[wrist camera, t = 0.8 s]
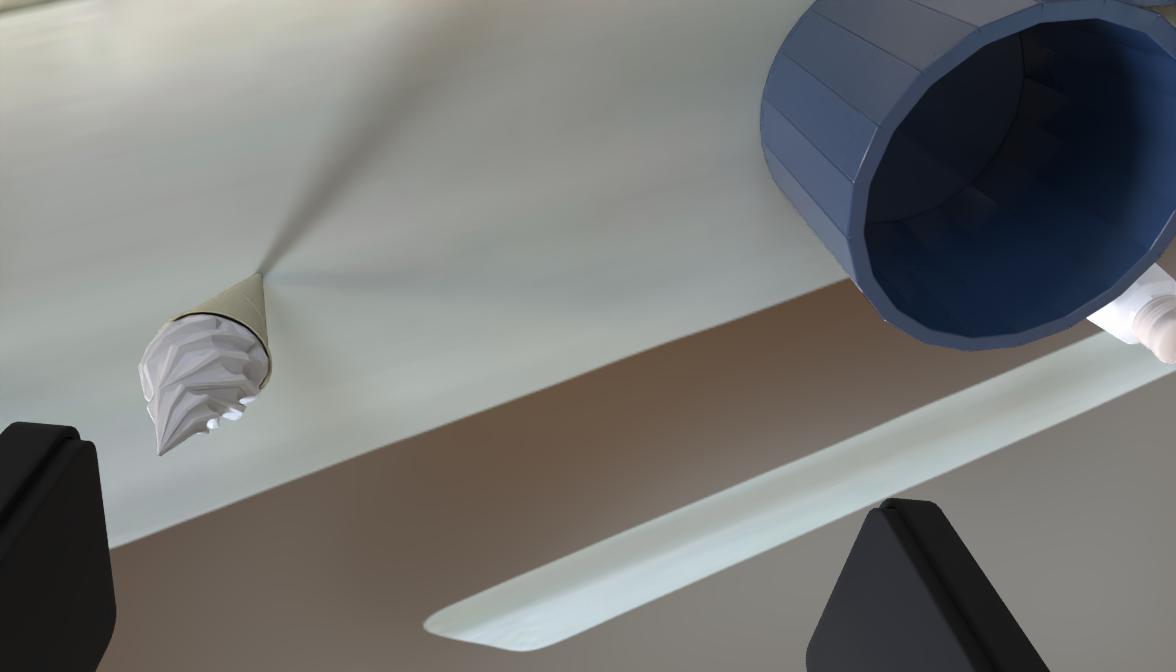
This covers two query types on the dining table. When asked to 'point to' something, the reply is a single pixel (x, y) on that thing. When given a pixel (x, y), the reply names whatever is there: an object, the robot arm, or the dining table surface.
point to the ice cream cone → (207, 364)
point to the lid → (1150, 2)
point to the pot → (979, 156)
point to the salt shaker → (1144, 314)
